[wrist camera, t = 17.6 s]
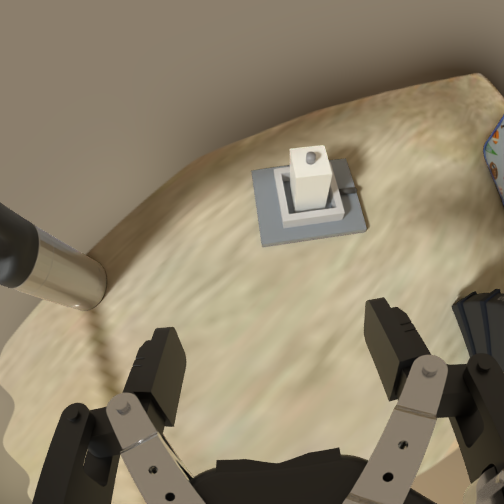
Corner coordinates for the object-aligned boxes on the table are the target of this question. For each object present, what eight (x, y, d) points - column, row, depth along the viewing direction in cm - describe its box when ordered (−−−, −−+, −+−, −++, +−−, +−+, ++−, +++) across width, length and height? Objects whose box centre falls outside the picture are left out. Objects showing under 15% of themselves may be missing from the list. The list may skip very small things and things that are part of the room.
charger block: (294, 213, 46) (296, 172, 35) (290, 187, 47) (289, 143, 37) (324, 209, 45) (333, 168, 35) (318, 183, 47) (324, 139, 36)
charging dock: (262, 247, 46) (260, 238, 42) (252, 174, 50) (249, 162, 47) (365, 232, 45) (370, 222, 41) (344, 162, 49) (347, 149, 46)
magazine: (462, 276, 39) (531, 295, 24) (470, 345, 40) (527, 377, 25) (445, 286, 39) (515, 309, 24) (454, 355, 40) (511, 392, 25)
